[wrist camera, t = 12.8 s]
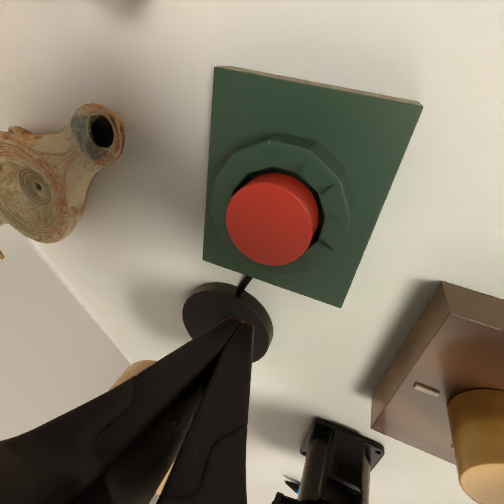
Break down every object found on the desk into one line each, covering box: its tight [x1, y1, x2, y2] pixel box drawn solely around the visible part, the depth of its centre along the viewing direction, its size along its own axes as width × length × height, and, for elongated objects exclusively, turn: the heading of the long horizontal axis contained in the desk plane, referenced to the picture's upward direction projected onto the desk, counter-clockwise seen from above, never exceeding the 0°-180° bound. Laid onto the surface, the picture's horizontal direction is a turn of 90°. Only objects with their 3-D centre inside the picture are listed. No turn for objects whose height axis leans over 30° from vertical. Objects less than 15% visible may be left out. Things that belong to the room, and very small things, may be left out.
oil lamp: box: [0, 104, 125, 260], centre depth 22 cm, size 9×21×10 cm, turn 118°
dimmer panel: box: [371, 282, 504, 465], centre depth 20 cm, size 12×10×3 cm
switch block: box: [203, 66, 423, 308], centre depth 18 cm, size 12×10×4 cm
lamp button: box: [226, 173, 319, 266], centre depth 16 cm, size 4×4×2 cm
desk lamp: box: [110, 275, 273, 495], centre depth 22 cm, size 11×8×12 cm
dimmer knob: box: [447, 389, 504, 504], centre depth 17 cm, size 4×4×4 cm
